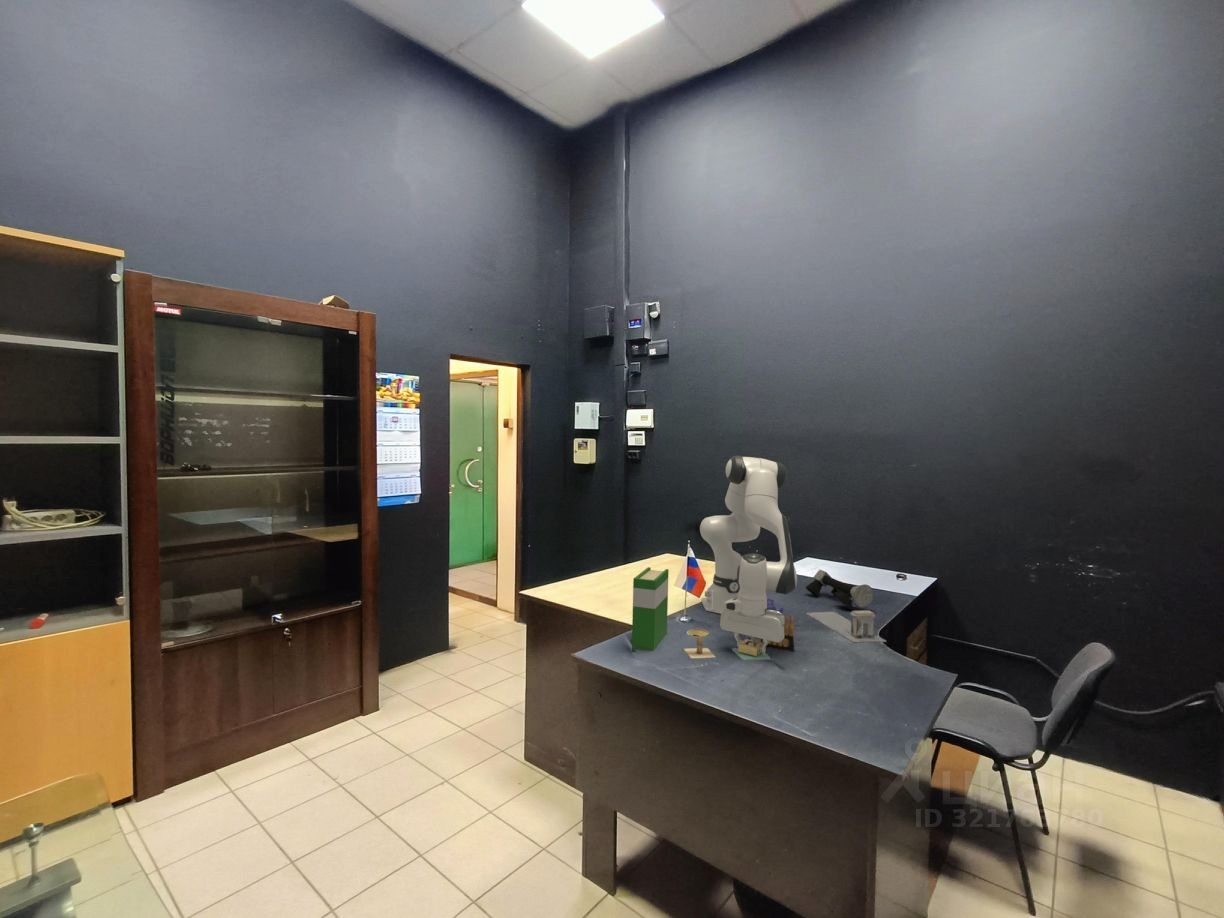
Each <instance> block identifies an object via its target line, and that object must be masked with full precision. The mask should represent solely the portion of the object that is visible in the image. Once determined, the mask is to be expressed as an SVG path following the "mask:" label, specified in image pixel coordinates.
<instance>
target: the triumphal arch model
mask: <svg viewBox="0 0 1224 918" xmlns="http://www.w3.org/2000/svg"><path fill="white" fill-rule="evenodd" d="M805 615H807V616H809V617H810V618H812V619H814V620H815V621H817V622H819V623H820V624H822V625H824V626H826V627H827V628H829V629H831V630H832V631H833V632H836V634H838V635H840V636H842V637H843V638H845V639H846V640H849V641H850V642H851V643H853V644H863V643H862V642H871V643H887V640H886V639H885V638H882V637H881V636H878V635H877V636H875V637H874V638H873V634H874V619H875V618H876V615H875V613H874V612H872V611H871V610H852V611H851V612H850V613H849V615H850V616H851V620H849V619H847V618H846V617H844V616H842V615H840V614H839V613H837V612H835V611H822V612H821V611H819V612H818V611H816V612H815V611H814V612H805ZM861 628H863V629H861ZM871 638H872V639H871ZM878 638H879V640H878Z"/></svg>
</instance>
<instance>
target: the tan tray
mask: <svg viewBox="0 0 1224 918" xmlns="http://www.w3.org/2000/svg"><path fill="white" fill-rule="evenodd" d="M749 642H752V643H754V646H751V645H748V643H749ZM761 645H764V643H761V642H757V641H753V640H751V639H748V638H745V639H744V640H742V642H741V643H739V646H738V647H737V648H738V652H742V653H746V654H750V655H754V656H757V655H759V654H760V653H761V652H759V650H760V649H759V647H760V646H761Z"/></svg>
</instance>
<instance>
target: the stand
mask: <svg viewBox="0 0 1224 918" xmlns="http://www.w3.org/2000/svg"><path fill="white" fill-rule="evenodd" d="M703 641H704V637H703V636H697V637H696V647H693V648H690V647H689V648H683V650H684V651H685V653H687V655H688V657H689V658H690V659H708V658H709V659H711V658H716V656H715V654H714V653H713V652H712V651H711V650H710V649H709V648H708V647H704V646H703Z"/></svg>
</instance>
